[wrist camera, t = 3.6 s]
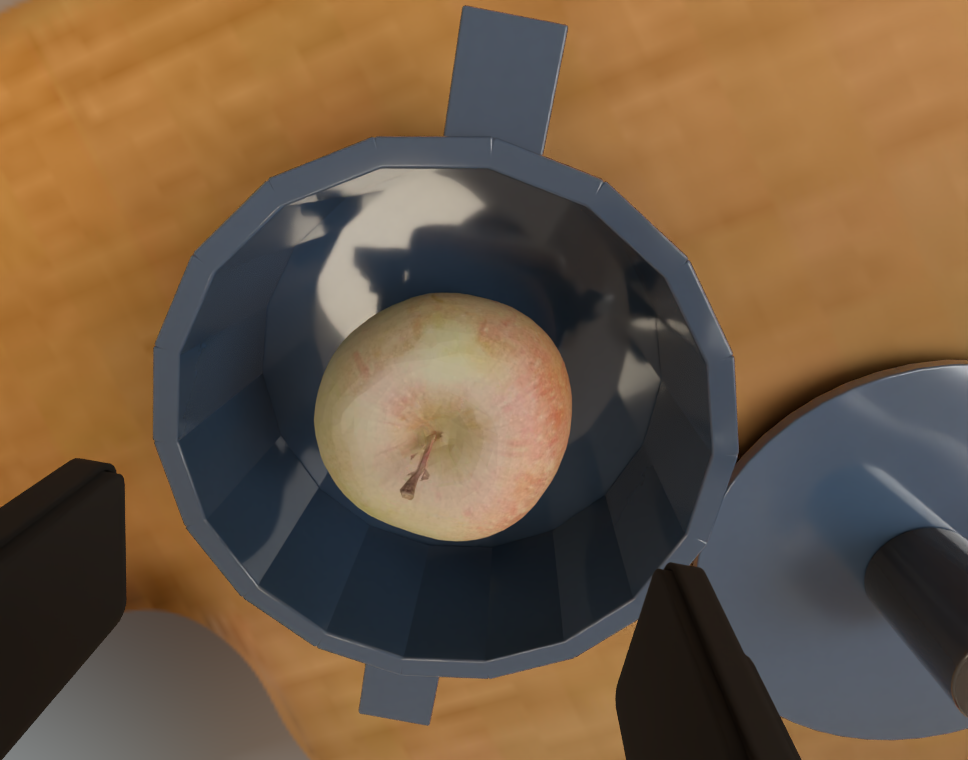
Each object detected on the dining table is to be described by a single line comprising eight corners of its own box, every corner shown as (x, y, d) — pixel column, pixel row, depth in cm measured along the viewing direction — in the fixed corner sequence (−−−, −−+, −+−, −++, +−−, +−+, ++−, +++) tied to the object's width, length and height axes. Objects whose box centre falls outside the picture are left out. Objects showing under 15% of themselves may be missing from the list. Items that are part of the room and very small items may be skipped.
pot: (760, 105, 19) (872, 75, 13) (600, 638, 26) (625, 781, 20) (269, 10, 19) (153, -64, 13) (236, 572, 26) (150, 696, 20)
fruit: (438, 505, 24) (402, 661, 16) (312, 355, 22) (207, 452, 15) (606, 397, 22) (653, 516, 15) (483, 226, 20) (464, 259, 13)
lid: (1221, 400, 21) (1486, 487, 16) (1009, 746, 27) (1148, 908, 21) (763, 314, 21) (858, 369, 15) (641, 679, 27) (676, 824, 21)
